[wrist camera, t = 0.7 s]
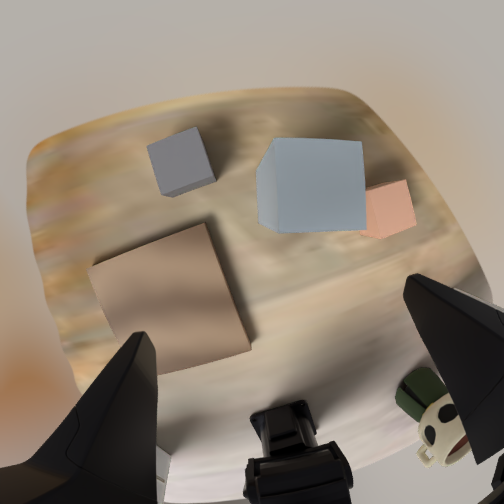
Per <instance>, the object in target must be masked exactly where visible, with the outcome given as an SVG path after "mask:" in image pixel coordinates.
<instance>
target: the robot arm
mask: <svg viewBox="0 0 504 504" xmlns="http://www.w3.org/2000/svg"><path fill="white" fill-rule="evenodd" d="M403 298H404V301H405V303H406V306H407V308H408V310H409V312H410V314H411V317H412V319H413V321H414V323H415V326H416V328H417V330H418V332H419V334H420V336H421V338H422V340H423V342H424V344H425V346H426V348H427V349H428V351H429V353H430V355H431V357H432V359H433V361H434V363H435V365H436V367H437V369H438V371H439V373H440V375H441V377H442V379H443V381H444V383H445V385H446V388H447V390H448V392H449V394H450V396H451V399H452V401H453V403H454V405H455V408H456V410H457V413H458V415H459V417H460V420H461V422H462V425H463V428H464V430H465V433H466V435H467V438H468V441H469V444H470V446H471V449H472V452H473V455H474V458H475V461H476V463H477V465H478V464H480V463H482V462H483V461H485V460H486V459H488V458H490V457H491V456H493V455H494V454H496V453H497V452H499V451H500V450H502V449H503V448H504V313H503V312H501V311H499V310H497V309H495V308H493V307H491V306H489V305H487V304H485V303H483V302H481V301H479V300H476V299H474V298H472V297H470V296H468V295H466V294H463V293H461V292H459V291H457V290H455V289H452V288H450V287H448V286H446V285H444V284H441V283H439V282H437V281H434V280H432V279H430V278H428V277H425V276H423V275H421V274H418V273H416V274H412V275H409V276H408V277H407V279H406V283H405V288H404V292H403ZM157 402H158V385H157V363H156V350H155V347H154V345H153V343H152V341H151V340H150V338H149V336H148V334H147V333H146V332H145V331H138V332H133V333H132V334H131V336H130V337H129V338H128V339H127V340H126V342H125V343H124V344H123V345H122V346H121V348H120V349H119V350H118V351H117V353H116V354H115V355H114V356H113V358H112V359H111V360H110V361H109V363H108V364H107V365H106V366H105V368H104V369H103V370H102V371H101V373H100V374H99V375H98V376H97V378H96V379H95V380H94V381H93V383H92V384H91V385H90V387H89V388H88V389H87V390H86V392H85V393H84V394H83V396H82V397H81V398H80V400H79V401H78V402H77V404H76V406H74V407H73V409H72V410H71V411H70V413H69V414H68V415H67V417H66V418H65V419H64V420H63V422H62V423H61V424H60V425H59V427H58V428H57V429H56V430H55V431H54V432H53V434H52V435H51V436H50V437H49V438H48V439H47V440H46V441H45V443H44V444H43V445H42V446H41V447H40V448H39V449H38V451H37V452H36V453H35V454H34V455H33V456H32V457H31V458H30V459H28V460H27V461H25V462H23V463H20V464H17V465H12V466H8V467H3V468H0V504H158V501H157V478H156V428H157ZM301 404H303V405H301ZM250 422H251V424H252V426H253V427H254V429H255V431H256V433H257V435H258V437H259V438H260V440H261V442H262V448H263V455H264V457H263V458H256V459H254V458H250V459H248V464H247V468H246V469H245V476H246V481H245V485H244V489H243V496H244V497H245V498H247V499H248V500H249V501H250V503H251V504H352V503H351V498H350V494H349V489H351V488H352V487H353V476H352V472H351V468H350V465H349V463H348V461H347V459H346V457H345V456H344V454H343V453H342V451H341V450H340V448H339V447H338V445H337V444H336V442H335V441H331V442H329V443H327V444H323V445H320V446H318V444H317V441H316V438H315V435H316V434H317V432H316V429H315V426H314V423H313V420H312V417H311V414H310V411H309V408H308V405H307V402H306V401H305V400H300V401H297V402H294V403H291V404H288V405H285V406H282V407H279V408H276V409H272V410H269V411H266V412H262V413H259V414H255V415H252V416H250ZM491 485H492V487H493V490H494V491H493V492H491V493H490V494H489V495H488V496H487V497H485V498H484V499H483V500H482V501H481V502H479V503H478V504H504V453H503V454H502V455H501V456H500V457H499V459H498V463H497V466H496V470H495V474H494V477H493V480H492V483H491Z"/></svg>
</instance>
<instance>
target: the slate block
mask: <svg viewBox="0 0 504 504" xmlns="http://www.w3.org/2000/svg"><path fill="white" fill-rule="evenodd" d="M256 183H257V204H258V223H259V224H261V225H263V226H265V227H267V228H269V229H271V230H273V231H275V232H277V233H299V232H324V231H351V230H367V221H366V191H365V174H364V161H363V150H362V142H360V141H348V140H334V139H315V138H274V139H273V141H272V142H271V144H270V146H269V148H268V150H267V152H266V153H265V155H264V157H263V159H262V161H261V163H260V164H259V166H258V168H257V170H256Z"/></svg>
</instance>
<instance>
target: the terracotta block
mask: <svg viewBox="0 0 504 504" xmlns="http://www.w3.org/2000/svg"><path fill="white" fill-rule="evenodd" d="M365 191H366V221H367V230H360V234H361V235H364V236H369V237H374V238H378V239H383V238H385V237H388V236H390V235H393V234H395V233H398V232H400V231H403V230H405V229H408V228H410V227H413V226H415V225H417V224H416V219H415V214H414V210H413V206H412V201H411V197H410V193H409V190H408V186H407V182H406V179H405V180H398V181H392V182H385V183H381V184H378V185H374V186H371V187H368V188H365Z"/></svg>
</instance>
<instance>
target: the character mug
mask: <svg viewBox="0 0 504 504" xmlns="http://www.w3.org/2000/svg"><path fill="white" fill-rule="evenodd" d="M404 382H405V383H406V384H407V385H408V386H407V387H406V389H405V391H403V390H402V389H401V388H400V387H399V388H398V389H397V392H396V396H395V399H396V404H397V405H398V406H399V407H400V408H402V409H403V410H404V411H405V412H406V413H407V414H408V415H410V416H411V417H412V418H413V419H414V420H416V421H417V422H419V428H418V433H419V438H420V440H421V441H422V442H423V443H424V444H423V445H422V446H421V447H420V449H419V450H418V451H417V456H418V457H419V459H420V461H421V462H422V463H423V465H424V466H425V467H426V468H430V467H431V466H432V465H433V464H434V463H435V462H436V461H438V463H439V464H440V465H441V466H443V467H448V466H450V465H453V464H455V463H456V462H457V461H459V460H461V459H462V458H463V457H465V455H467V454H468V453H469V452H470V451H472V449H471V446H470V444H469V441H468V438H467V435H466V433H465V430H464V428H463V425H462V422H461V420H460V417H459V415H458V413H457V410H456V408H455V405H454V403H453V401H452V399H451V396H450V394H449V392H448V390H447V388H446V386H445V385H444V383H443V382H442V381H441V379H440V378H439V377H438V376H437V375H436V374H435V373H434V372H433V371H432V370H431V369H430V368H420V369H418V370H415V371H413V372H412V373H411V374H410V375H408V376H407V377H406V378H405V379H404ZM427 449H428V450H429V451H430V452H431V454H432V455H433V456H432V458H430V459H429V458H428V456H427V455H426V454H425V452H426V450H427Z"/></svg>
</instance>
